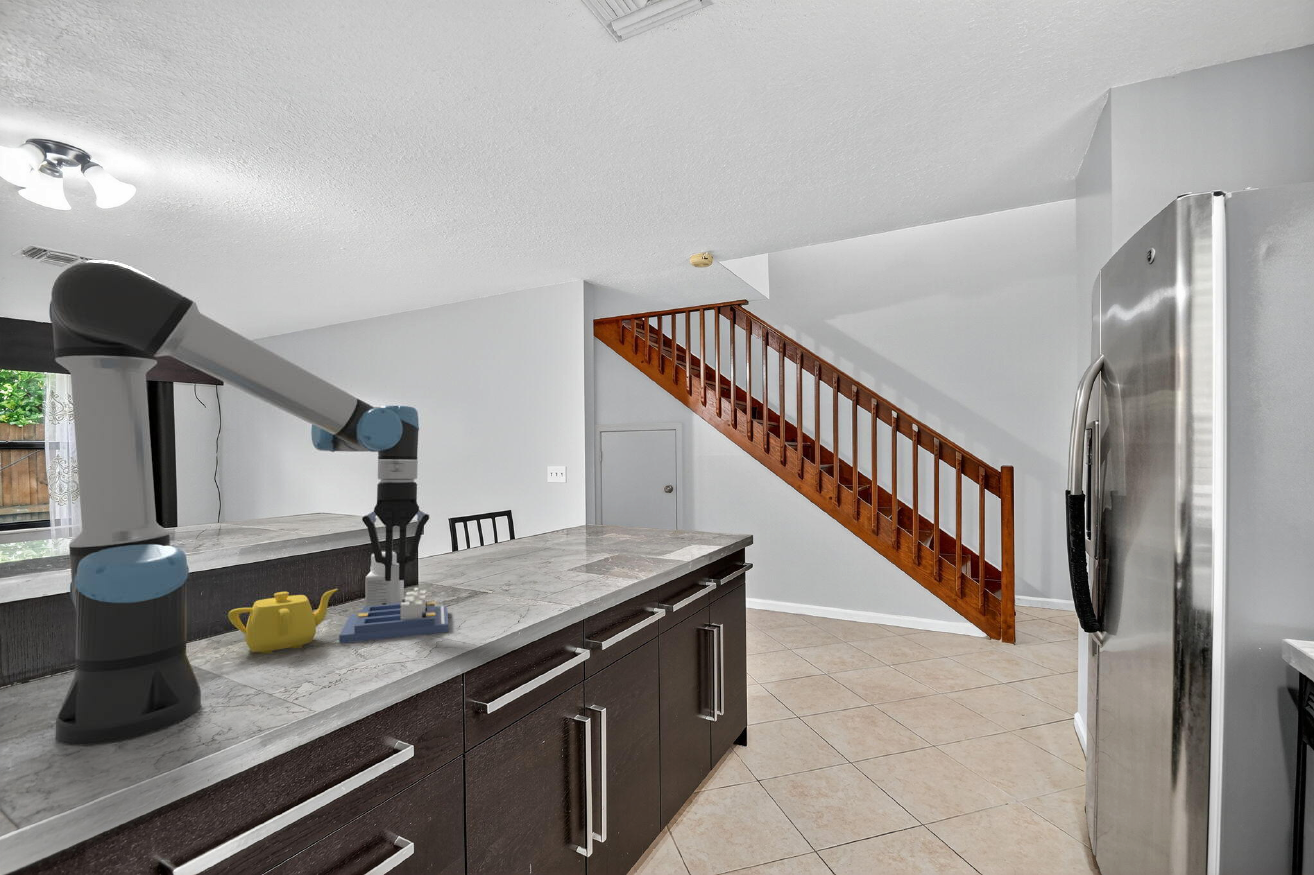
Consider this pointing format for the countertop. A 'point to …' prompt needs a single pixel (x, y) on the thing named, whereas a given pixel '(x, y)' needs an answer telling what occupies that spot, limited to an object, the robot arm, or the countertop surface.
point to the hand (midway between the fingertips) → (394, 596)
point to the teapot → (280, 622)
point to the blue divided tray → (392, 623)
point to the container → (381, 583)
